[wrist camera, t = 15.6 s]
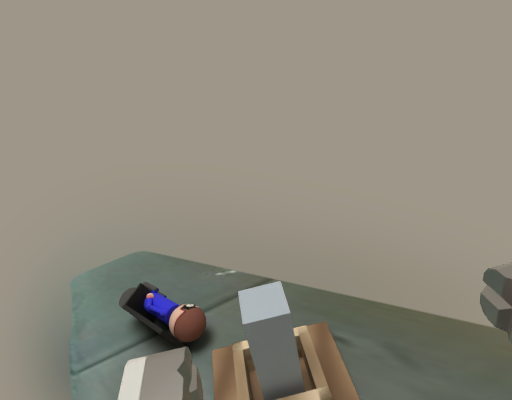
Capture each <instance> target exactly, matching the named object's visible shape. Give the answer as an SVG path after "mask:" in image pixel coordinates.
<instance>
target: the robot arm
mask: <svg viewBox="0 0 512 400" xmlns="http://www.w3.org/2000/svg"><path fill="white" fill-rule="evenodd" d="M483 281H484V282H485V283H486V284H487V286H486V287H485V288H484V290H483V291H482V292H481V296H480V304H481V307H482V310H483V312H484V314H485V316H486V317H487V319H488V320H489V321H490V322H491V323H492V324H493V325H494V326H495V327H496V328H499V329H501V330H503V331H506V332H508V337H509V341H510V342H511V343H512V262H511V263H507V264H503V265H499V266H496V267H492V268H488V269H487V270H486V271H485V272H484V277H483ZM118 400H203V391H202V383H201V379H200V375H199V372H198V369H197V367H196V366H194V365H192V354H191V352H190V350H189V348H188V347H182V348H178V349H173V350H169V351H165V352H160V353H156V354H152V355H148V356H144V357H140V358H136V359H131V360H128V362H127V364H126V366H125V368H124V373H123V378H122V382H121V387H120V391H119V396H118Z"/></svg>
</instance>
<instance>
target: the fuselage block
mask: <svg viewBox="0 0 512 400" xmlns="http://www.w3.org/2000/svg"><path fill="white" fill-rule="evenodd" d="M238 294H239V301H240V308H241V315H242V322H243V327H244V330H245V334H246V337H247V341H248V345H249V348H250V352H251V355H252V359H253V362H254V366H255V370H256V373H257V377H258V380H259V384H260V387H261V391H262V395H263V398H264V400H276V399H280V398H284V397H288V396H291V395H295V394H299V393H303V392H305V389H304V384H303V378H302V373H301V367H300V362H299V357H298V351H297V346H296V340H295V335H294V330H293V324H292V319H291V313H290V310H289V307H288V304H287V301H286V297H285V294H284V291H283V288H282V285H281V282H280V281H279V282H275V283H271V284H267V285H262V286H258V287H254V288H250V289H246V290H242V291H238Z"/></svg>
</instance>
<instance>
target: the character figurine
mask: <svg viewBox="0 0 512 400" xmlns="http://www.w3.org/2000/svg"><path fill="white" fill-rule="evenodd" d="M158 291H159V289H158V288H156V287H154V286H153V285H151V284H149V283H147V282H144V283H143V284H142V283H140V284H139V286H138V287H137V288H130V289H128V290H126V291H125V292H124V293H123V294H122V296H121V298H120V301H119V305H120V307H121V308H123V309H124V310H126V311H127V312H129V313H130V314H132V315H133V316H134V317H136V318H137V319H139V320H140V321H141V322H143V323H144V324H146V325H147V326H148V327H150V328H151V329H153V330H154V331H156V332H157V333H159V334H160V335H161V336H163V337H164V338H166V339H167V340H169V341H170V342H172V343H173V344H174V345H176V346H177V347H179V348H182V347H186V346H184V345H183V344H182V343H180V342H179V341H182V342H191V341H194V340H196V339H198V338H199V337H200V336H201V335H202V333H203V332H204V330H205V327H206V317H205V314H204V312H203V311H202V310H201V309H200V308H199V307H198V306H196V305H193V304H184V305H181V306H180V305H178V304H176V303H174V302H173V301H171V300H169V299H167V298H166V296H165V295H164V294H162V293H160V292H158ZM156 318H158V319H159V320H161V321H162V322H164V323H165V324H167V325H168V326H169V328H170V332H171V334H172V335H173V336H174V337H175V338H176V339H177V340H176V339H175V338H174V337H172V336H171V335H169V334H168V333H167V332H165V331H164V330H163V329H161V328H160V327H158V326H157V325H155V324H154V323H153V322H154V320H155V319H156ZM178 340H179V341H178Z"/></svg>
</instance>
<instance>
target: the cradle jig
mask: <svg viewBox="0 0 512 400" xmlns="http://www.w3.org/2000/svg"><path fill="white" fill-rule="evenodd" d="M293 330H294V335H295V340H296V346H297V351H298V357H299V362H300V367H301V373H302V378H303V384H304V389H305V392H303V393H299V394H295V395H291V396H288V397H284V398H280V399H276V400H360V399H359V397H358V395H357V392H356V390H355V388H354V385H353V383H352V381H351V378H350V376H349V374H348V372H347V369H346V367H345V365H344V362H343V360H342V358H341V356H340V353H339V351H338V349H337V346H336V344H335V342H334V340H333V337H332V335H331V333H330V330H329V328H328V326H327V323H326V321H325V322H321V323H318V324H314V325H310V326H306V325H305V326H301V327H297V328H293ZM212 355H213V377H214V399H215V400H264V398H263V395H262V391H261V387H260V384H259V380H258V377H257V373H256V370H255V366H254V362H253V359H252V355H251V352H250V348H249V345H248V341H247V340H246V341H242V342H238V343H234V344H232V345H231V346H227V347H223V348H220V349H216V350H212Z"/></svg>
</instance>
